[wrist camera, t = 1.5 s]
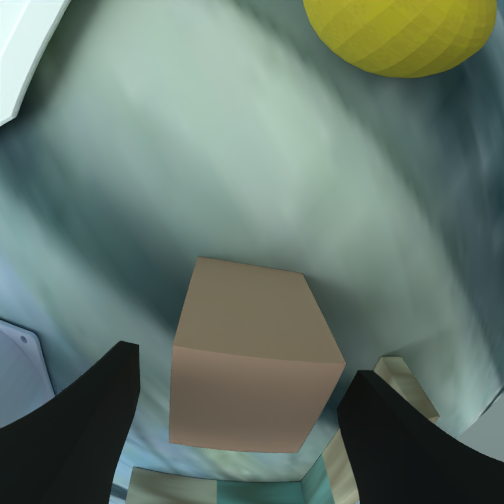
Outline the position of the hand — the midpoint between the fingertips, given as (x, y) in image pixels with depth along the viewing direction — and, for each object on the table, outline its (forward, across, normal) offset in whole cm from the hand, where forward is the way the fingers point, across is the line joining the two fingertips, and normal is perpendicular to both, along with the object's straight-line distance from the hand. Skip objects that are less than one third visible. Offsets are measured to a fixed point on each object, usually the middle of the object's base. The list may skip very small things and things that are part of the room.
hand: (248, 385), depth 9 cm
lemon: (+5, -2, -13) cm, 14 cm away
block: (+5, 0, 0) cm, 5 cm away
